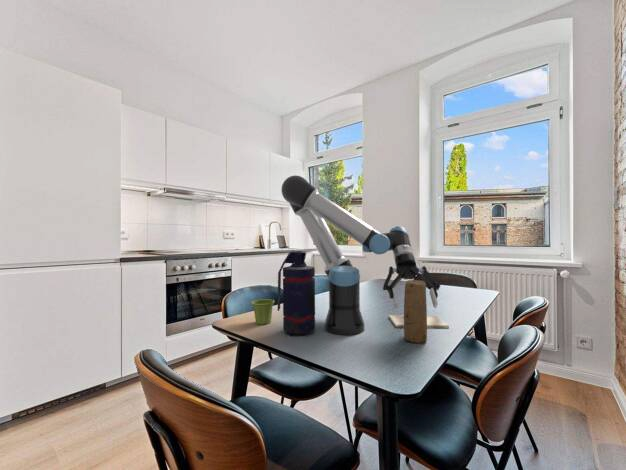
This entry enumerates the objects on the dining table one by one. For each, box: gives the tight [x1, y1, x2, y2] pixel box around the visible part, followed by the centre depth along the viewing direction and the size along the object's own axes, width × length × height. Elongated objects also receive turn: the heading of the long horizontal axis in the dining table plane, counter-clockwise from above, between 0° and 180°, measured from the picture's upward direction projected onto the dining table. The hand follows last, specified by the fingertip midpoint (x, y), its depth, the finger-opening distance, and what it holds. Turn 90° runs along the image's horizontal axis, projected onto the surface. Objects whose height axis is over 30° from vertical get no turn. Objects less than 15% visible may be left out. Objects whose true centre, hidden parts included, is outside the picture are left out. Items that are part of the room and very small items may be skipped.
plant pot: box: [251, 298, 275, 326], centre depth 125 cm, size 9×9×9 cm
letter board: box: [388, 314, 450, 329], centre depth 124 cm, size 20×14×1 cm
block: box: [403, 279, 428, 344], centre depth 105 cm, size 11×8×20 cm
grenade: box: [276, 250, 316, 337], centre depth 113 cm, size 14×12×30 cm
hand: (415, 305), depth 105 cm, fingers open, 13 cm apart
